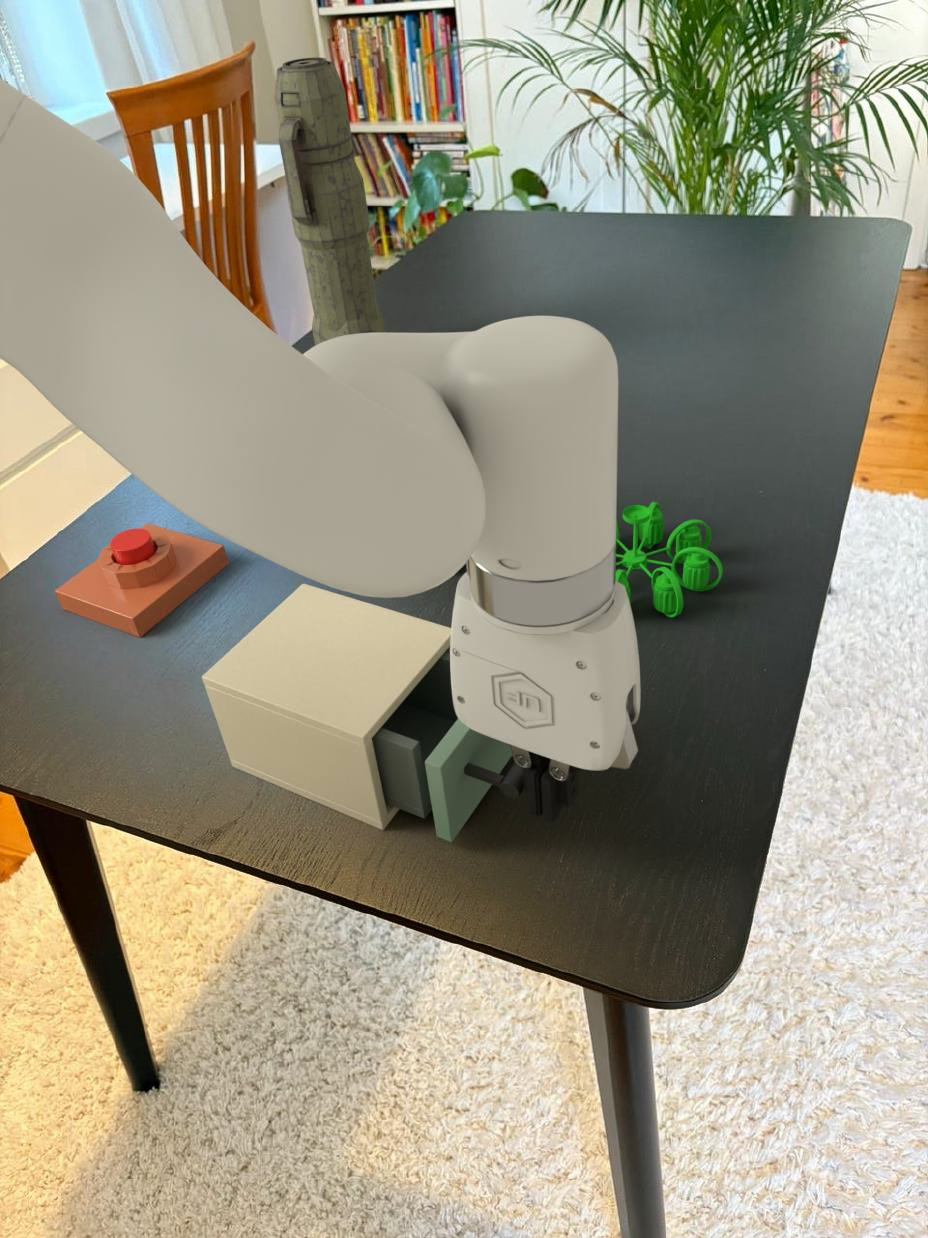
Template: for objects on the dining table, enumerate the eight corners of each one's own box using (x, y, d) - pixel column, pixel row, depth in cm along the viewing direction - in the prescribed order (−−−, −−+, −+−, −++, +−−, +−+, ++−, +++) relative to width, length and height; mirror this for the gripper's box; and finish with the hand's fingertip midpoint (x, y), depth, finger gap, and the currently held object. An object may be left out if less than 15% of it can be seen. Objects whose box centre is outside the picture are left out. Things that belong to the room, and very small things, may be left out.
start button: (136, 570, 87) (130, 554, 86) (107, 561, 89) (101, 545, 88) (163, 548, 90) (158, 533, 89) (135, 540, 91) (130, 524, 90)
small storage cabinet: (467, 721, 74) (456, 629, 68) (383, 830, 66) (363, 737, 61) (323, 671, 80) (302, 582, 74) (232, 766, 72) (200, 676, 67)
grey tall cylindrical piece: (304, 389, 122) (240, 74, 100) (343, 350, 130) (292, 52, 108) (369, 394, 119) (317, 72, 97) (404, 353, 128) (364, 49, 106)
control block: (140, 638, 85) (126, 602, 83) (62, 609, 90) (46, 574, 87) (229, 563, 93) (219, 529, 91) (153, 540, 98) (141, 507, 95)
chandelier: (699, 648, 78) (705, 579, 74) (524, 613, 84) (520, 546, 79) (737, 545, 88) (745, 479, 84) (580, 519, 94) (579, 456, 90)
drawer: (575, 757, 69) (573, 681, 64) (506, 866, 62) (499, 790, 58) (381, 689, 76) (368, 617, 72) (301, 781, 69) (280, 707, 65)
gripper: (380, 572, 51) (420, 804, 62) (652, 650, 44) (641, 892, 56) (453, 500, 55) (478, 727, 67) (708, 561, 49) (687, 801, 60)
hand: (552, 802), depth 61 cm, fingers closed
